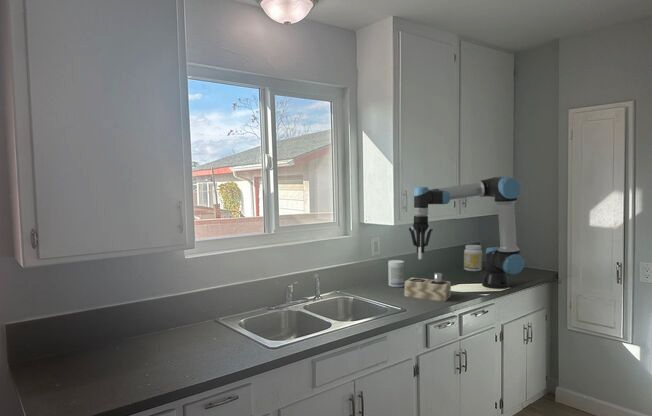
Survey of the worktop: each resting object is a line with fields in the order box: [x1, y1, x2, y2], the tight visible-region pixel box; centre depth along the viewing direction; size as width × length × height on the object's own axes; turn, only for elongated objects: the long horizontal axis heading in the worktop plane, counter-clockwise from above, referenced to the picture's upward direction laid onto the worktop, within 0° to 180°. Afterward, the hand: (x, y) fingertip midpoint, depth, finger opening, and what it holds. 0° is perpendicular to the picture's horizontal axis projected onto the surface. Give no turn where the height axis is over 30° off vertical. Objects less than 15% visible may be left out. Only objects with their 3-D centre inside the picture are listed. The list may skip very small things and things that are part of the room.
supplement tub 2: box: [463, 244, 483, 272], centre depth 323 cm, size 12×12×17 cm
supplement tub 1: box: [387, 259, 406, 288], centre depth 275 cm, size 10×10×15 cm
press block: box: [403, 277, 452, 302], centre depth 251 cm, size 22×12×8 cm, turn 62°
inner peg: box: [433, 272, 443, 284], centre depth 248 cm, size 4×4×7 cm
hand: (420, 258), depth 252 cm, fingers closed
